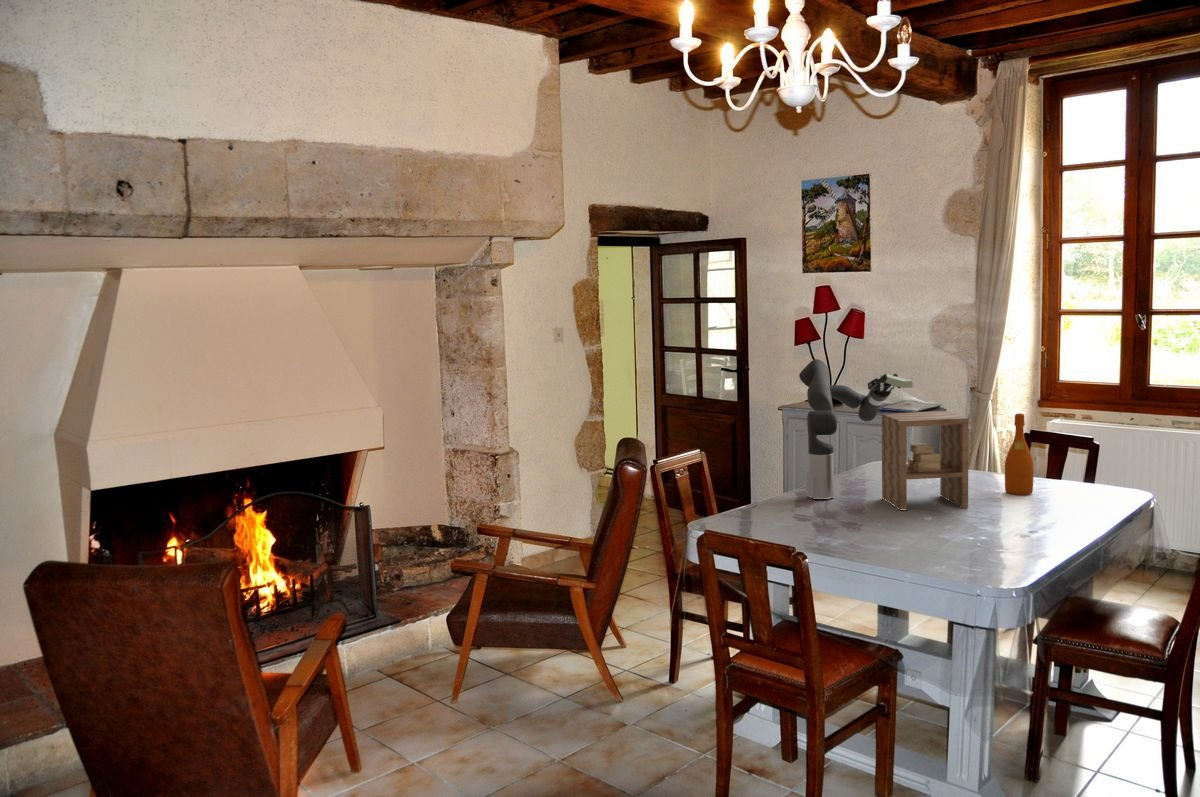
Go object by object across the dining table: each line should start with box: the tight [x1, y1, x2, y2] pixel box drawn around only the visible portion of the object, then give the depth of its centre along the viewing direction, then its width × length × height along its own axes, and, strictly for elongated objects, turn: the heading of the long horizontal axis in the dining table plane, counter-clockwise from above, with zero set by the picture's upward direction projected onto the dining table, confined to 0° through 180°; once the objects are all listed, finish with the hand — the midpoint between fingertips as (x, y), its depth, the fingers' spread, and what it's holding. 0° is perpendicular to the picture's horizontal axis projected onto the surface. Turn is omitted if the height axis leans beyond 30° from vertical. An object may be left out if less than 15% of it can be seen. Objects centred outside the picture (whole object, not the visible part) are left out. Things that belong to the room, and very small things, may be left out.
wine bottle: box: [1004, 412, 1035, 496], centre depth 353 cm, size 10×10×30 cm
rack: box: [881, 410, 970, 510], centre depth 343 cm, size 20×24×32 cm
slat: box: [879, 374, 913, 389], centre depth 369 cm, size 26×4×2 cm, turn 2°
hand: (891, 376), depth 374 cm, fingers closed on slat, 3 cm apart
